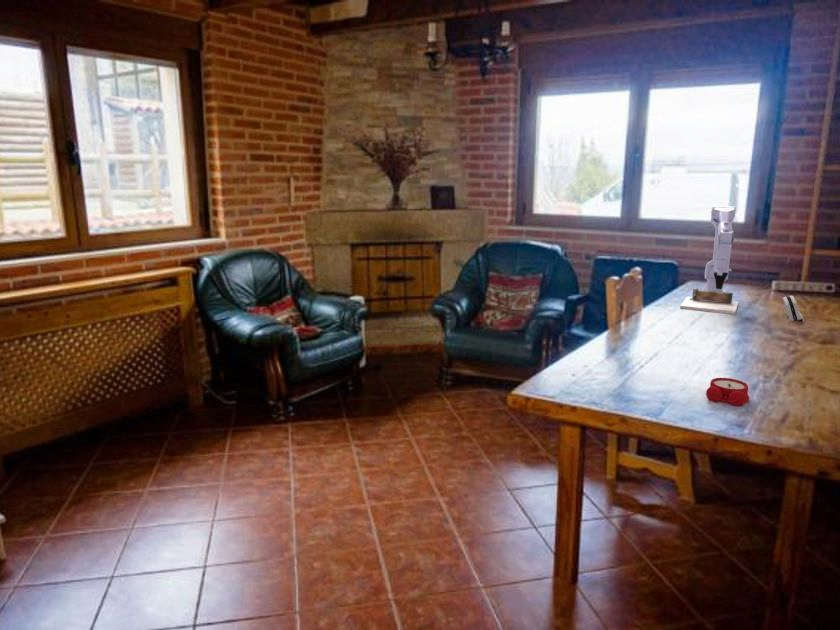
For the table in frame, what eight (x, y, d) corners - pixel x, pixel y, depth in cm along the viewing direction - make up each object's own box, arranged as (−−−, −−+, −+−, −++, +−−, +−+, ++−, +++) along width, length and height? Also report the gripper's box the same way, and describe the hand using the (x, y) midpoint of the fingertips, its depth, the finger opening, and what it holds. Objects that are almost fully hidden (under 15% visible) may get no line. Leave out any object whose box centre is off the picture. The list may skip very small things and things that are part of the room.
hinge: (804, 322, 246) (798, 299, 246) (791, 324, 249) (785, 301, 248) (799, 313, 261) (793, 291, 260) (786, 316, 263) (781, 294, 262)
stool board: (686, 298, 289) (687, 288, 288) (738, 304, 279) (739, 293, 277) (680, 308, 270) (681, 296, 269) (735, 314, 259) (736, 302, 258)
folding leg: (691, 299, 281) (692, 289, 280) (692, 297, 284) (693, 288, 283) (731, 303, 273) (732, 293, 272) (731, 301, 276) (732, 291, 274)
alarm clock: (752, 381, 167) (749, 385, 154) (749, 404, 167) (745, 409, 154) (711, 374, 172) (705, 378, 160) (708, 396, 173) (701, 401, 160)
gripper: (731, 261, 259) (727, 292, 262) (733, 257, 271) (730, 286, 274) (713, 260, 262) (709, 290, 265) (716, 256, 274) (712, 285, 278)
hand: (718, 288), depth 270 cm, fingers closed
